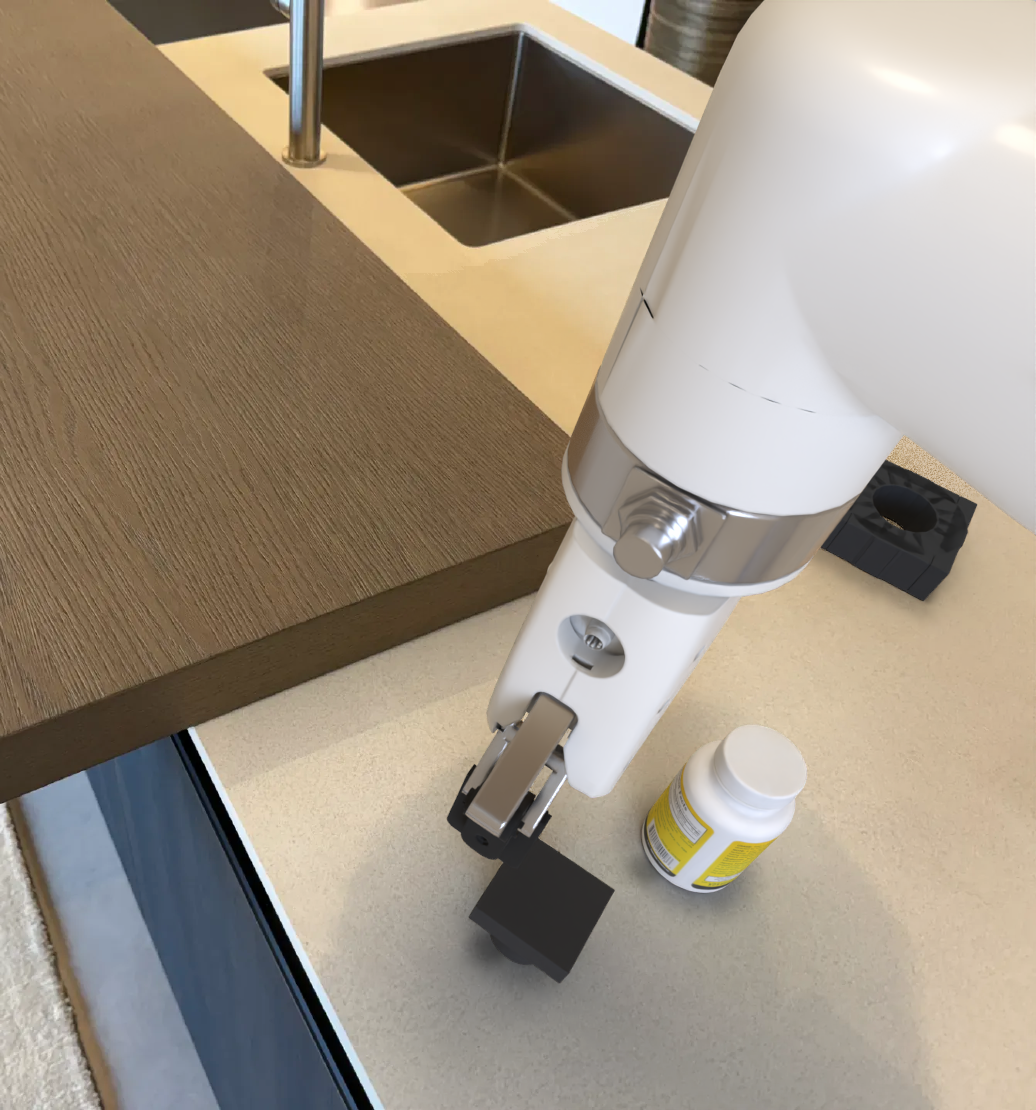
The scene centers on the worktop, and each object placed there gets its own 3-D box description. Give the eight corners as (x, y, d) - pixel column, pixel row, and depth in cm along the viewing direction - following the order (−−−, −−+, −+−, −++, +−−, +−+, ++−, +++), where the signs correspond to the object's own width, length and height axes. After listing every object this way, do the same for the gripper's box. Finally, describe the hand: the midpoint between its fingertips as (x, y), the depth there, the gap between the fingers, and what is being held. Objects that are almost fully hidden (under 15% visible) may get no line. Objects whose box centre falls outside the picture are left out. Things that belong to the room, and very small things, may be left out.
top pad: (586, 923, 54) (615, 889, 50) (541, 1003, 51) (568, 973, 48) (502, 864, 55) (524, 828, 52) (454, 939, 53) (474, 906, 49)
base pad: (954, 532, 74) (980, 503, 72) (924, 603, 70) (950, 575, 67) (842, 476, 77) (863, 447, 74) (806, 541, 72) (827, 512, 70)
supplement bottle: (749, 833, 58) (835, 746, 50) (722, 914, 55) (810, 836, 47) (656, 783, 59) (727, 692, 52) (624, 860, 56) (695, 775, 49)
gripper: (716, 747, 24) (522, 983, 37) (919, 370, 33) (707, 665, 46) (436, 577, 26) (348, 856, 39) (700, 270, 36) (557, 578, 49)
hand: (542, 752), depth 43 cm, fingers open, 9 cm apart
